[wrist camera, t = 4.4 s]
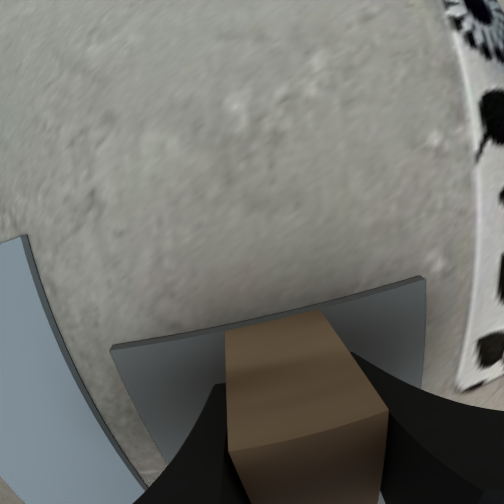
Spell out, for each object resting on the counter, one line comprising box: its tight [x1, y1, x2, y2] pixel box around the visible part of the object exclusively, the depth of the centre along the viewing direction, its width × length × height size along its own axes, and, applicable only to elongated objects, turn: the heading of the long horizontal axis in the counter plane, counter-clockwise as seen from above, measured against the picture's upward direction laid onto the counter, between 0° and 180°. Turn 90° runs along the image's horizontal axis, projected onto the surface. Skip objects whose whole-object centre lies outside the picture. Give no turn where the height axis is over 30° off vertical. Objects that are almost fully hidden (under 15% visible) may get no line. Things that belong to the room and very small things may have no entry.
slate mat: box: [0, 235, 148, 504], centre depth 11 cm, size 18×11×1 cm, turn 12°
